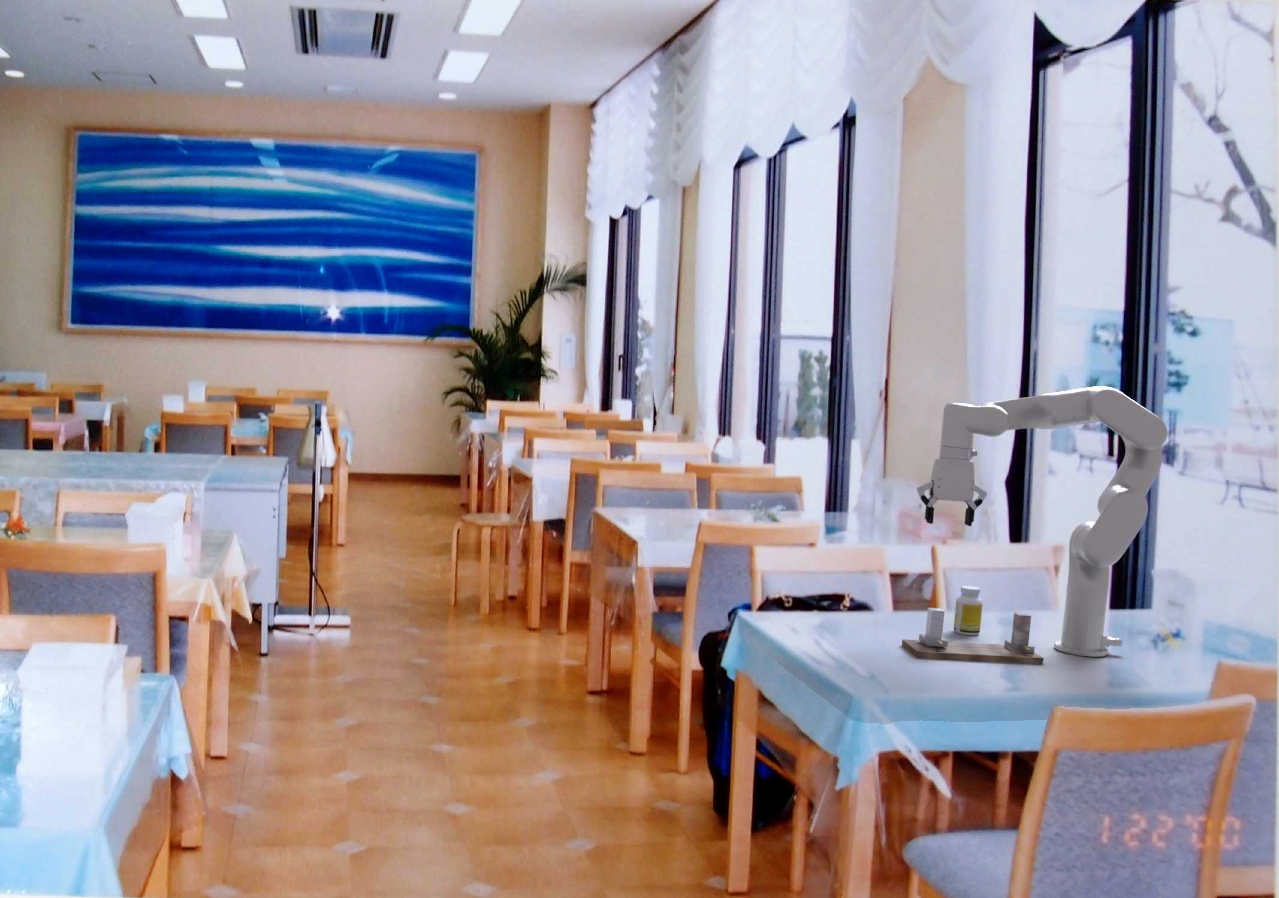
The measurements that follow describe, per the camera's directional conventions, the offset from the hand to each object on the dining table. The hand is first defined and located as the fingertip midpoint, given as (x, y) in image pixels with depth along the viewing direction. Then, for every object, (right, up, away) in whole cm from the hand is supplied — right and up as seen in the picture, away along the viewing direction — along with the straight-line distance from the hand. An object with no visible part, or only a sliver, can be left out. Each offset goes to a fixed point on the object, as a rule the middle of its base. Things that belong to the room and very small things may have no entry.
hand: (948, 524), depth 344 cm
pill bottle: (+7, -28, +12) cm, 31 cm away
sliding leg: (-6, -27, -14) cm, 31 cm away
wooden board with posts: (+2, -30, -13) cm, 33 cm away
